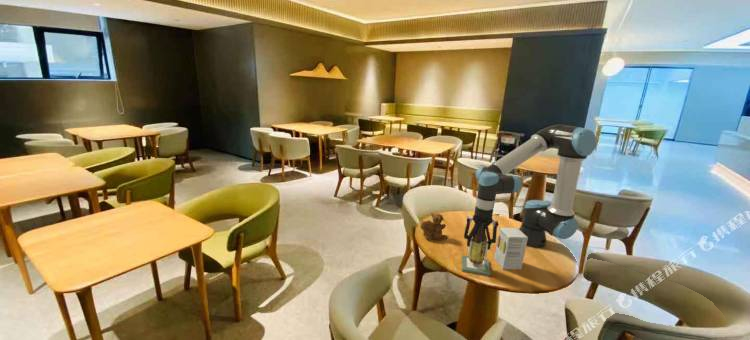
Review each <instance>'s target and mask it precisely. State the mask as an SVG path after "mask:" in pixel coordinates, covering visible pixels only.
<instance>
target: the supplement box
mask: <svg viewBox="0 0 750 340" xmlns="http://www.w3.org/2000/svg"><path fill="white" fill-rule="evenodd" d="M498 231H499V232H498V234H497V235H498V236H497V240H496V241H497V243H496V248H495V253H494V260H495V262H497V264H498V265H499V267H500V268H501V269H502V270H522V267H523V263H524V257H525V252H526V249H527V240H528V237H527V236H526V235H525V234H524V233H522V232H521V231H520V230H519V227H499V230H498Z"/></svg>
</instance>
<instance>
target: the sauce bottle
mask: <svg viewBox="0 0 750 340" xmlns="http://www.w3.org/2000/svg"><path fill="white" fill-rule="evenodd" d="M487 241H488V238H487V233H486V229H485V224H484V223H480V225H479V227H478V228H477V230H476V231H475V233H474V235H473V237H472V246H471V253H470V254H469V256H470V258H469V260H470V262H472V263H474V264H482V263H483V260H484V259H485V256H484V254H485V248H486V242H487Z"/></svg>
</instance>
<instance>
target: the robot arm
mask: <svg viewBox="0 0 750 340" xmlns="http://www.w3.org/2000/svg"><path fill="white" fill-rule="evenodd" d="M597 143H598V142H597V136H596V134H595V133H594V132H593V131H592V130H591V129H588V128H584V127H579V126H574V125H566V124H553V125H550V126H548V127H545V128H543V129H540V130H538V131H537V132H536V133H534V134H532V135H531V136H530V139H528V140H526V141H525V142H524V143H522V144H521V145H519V146H518V147H516V148H514V149H513V150H512V151H510V152H509V153H507V154H505V155H504V156H502V157H501V158H499V159H498V160H496V161H495V162H493V163H492V164H490V165H489V166H483V165H482V166H480V167H478V168H477V169H476V171H475V178H476V180H478V188H477V193H476V200H475V201H476V202H475V208H474V214H473V215H472V216H470V217H469V216H467V217H466V224H465V228H464V229H465V230H464V233H463V238H464V239H466V240H467V241H466V245H467V247H468V254H469V255H470V253H471V246H472V238H473V235H474V233H475V231H476V230H477V228H478V227H479V225H480V223H484V224H485V233H486V237H487V242H486V248H485V254H484V258H485V257H487V256H488V255H487V253H488V250H489V251H490V250H491V246H492V244H497V243H496V241H497V229H498V227H499V221H498V220H494V219H493V214H494V208H495V201H496V196H497V195H504V194H515V193H518V192H520V191H521V188H522V181H521V178H520V177H518V176H517V175H507V174H508V173H510V172H511V171H513V170H515V168H517V167H519V166H521V165H522V164H523V163H525V162H526V161H528V160H530V159H531V158H532V157H534V156H536V155H537V154H539V153H540V152H545V151H547V150H549V149H550V150H551V149H556V150H557V156H558V158H559V163H558V170H557V175H556V178H555V185H554V191H553V196H552V201H551V203H550V202H549V201H546V200H545V201H544V200H540V199H530V200H527V201H526V202H525V206H524V209H523V214H522V221H521V225H520V227H518V229H519V230H520V231H521V232H522V233H524V234H525V235H526V236H527V237H528V240H527V245H526V247H531V248H543V247H546V245H547V242H548V241H547V234H546V232H547V233H549V234H550V235H552V236H553V237H555V238H557V239H560V240H568V239H569V238H571V237H572V236H573V235H574V234H575V233H576V232H577V231H578V228H579V221H578V220H577V219H576V218H575V213H576V212H575V211H574V210H573V205H574V201H575V197H576V196H575V195H576V191H577V185H578V182H579V176H580V172H581V168H582V163H583V161H584V160H587V158H588V157H589V156H590V155H592V154H593V152H594V151H595V150H596V147H597ZM472 221H473V223H474V224H473V227H472V228H471V230H470V232H469V229H470V226H471V223H472ZM491 224H492V227H493V228H492V238H491V236H490V235H491V233H490V230H489V226H490V225H491Z"/></svg>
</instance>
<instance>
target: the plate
mask: <svg viewBox="0 0 750 340" xmlns="http://www.w3.org/2000/svg"><path fill="white" fill-rule="evenodd" d="M469 258H470V255H464V254H462V255H461V271H462V272H463V273H464V272H465V273H470V272H471V273H472V274H475V275H482V276H487V277H491V267H490V263H489V259H486V258H484V260H483V263H482V264H474V263H472V262H470V260H469ZM471 273H470V274H471Z"/></svg>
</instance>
